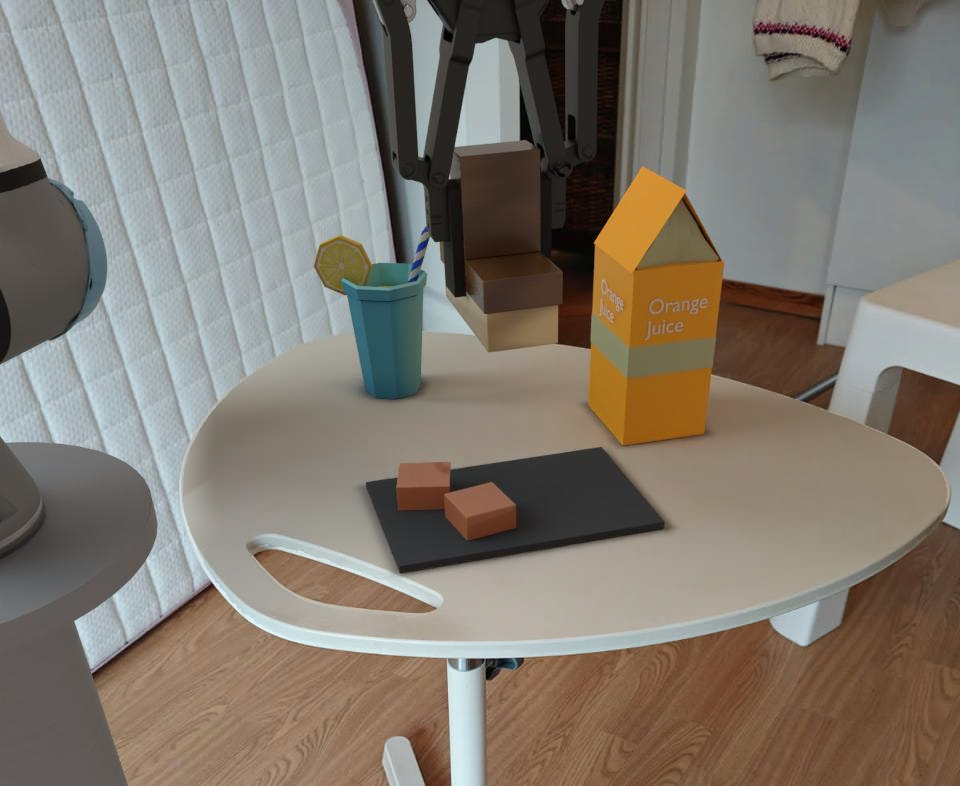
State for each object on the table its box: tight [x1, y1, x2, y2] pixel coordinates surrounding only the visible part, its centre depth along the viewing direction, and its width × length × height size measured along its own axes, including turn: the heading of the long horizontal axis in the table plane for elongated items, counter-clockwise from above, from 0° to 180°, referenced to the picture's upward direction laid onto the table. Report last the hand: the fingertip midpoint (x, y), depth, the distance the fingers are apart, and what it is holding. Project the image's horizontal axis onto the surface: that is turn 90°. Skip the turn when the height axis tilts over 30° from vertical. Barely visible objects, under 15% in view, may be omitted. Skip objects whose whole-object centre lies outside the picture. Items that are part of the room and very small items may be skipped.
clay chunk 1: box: [396, 461, 452, 511], centre depth 78 cm, size 4×4×2 cm
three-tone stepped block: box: [439, 139, 564, 353], centre depth 65 cm, size 5×12×10 cm, turn 15°
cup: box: [313, 226, 431, 400], centre depth 93 cm, size 14×8×15 cm, turn 101°
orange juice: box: [588, 165, 725, 446], centre depth 84 cm, size 8×9×20 cm
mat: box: [365, 446, 666, 574], centre depth 78 cm, size 20×13×1 cm, turn 105°
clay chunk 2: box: [444, 482, 516, 541], centre depth 74 cm, size 4×4×2 cm
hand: (498, 284), depth 67 cm, fingers closed on three-tone stepped block, 5 cm apart
